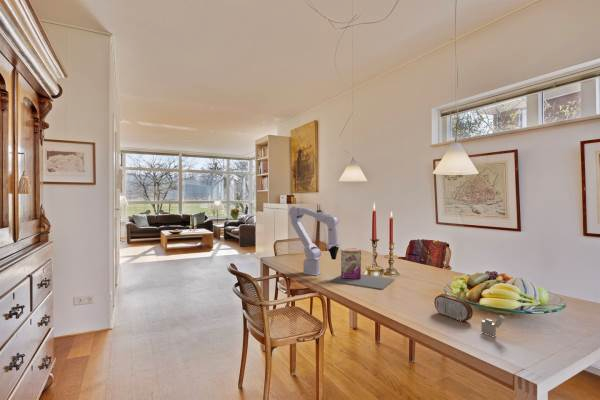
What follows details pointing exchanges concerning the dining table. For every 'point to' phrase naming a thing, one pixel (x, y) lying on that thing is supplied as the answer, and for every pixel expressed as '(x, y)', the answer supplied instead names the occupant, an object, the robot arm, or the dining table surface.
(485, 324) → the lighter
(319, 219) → the robot arm
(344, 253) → the candy bar box
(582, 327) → the dining table surface
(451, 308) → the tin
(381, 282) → the slate placemat
